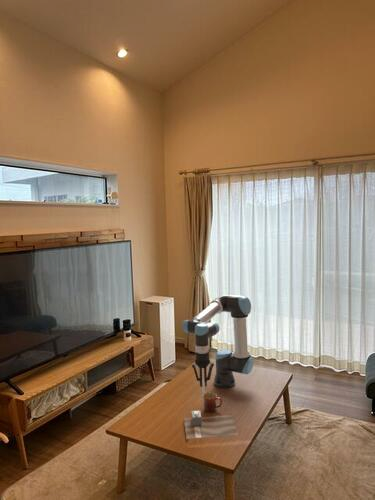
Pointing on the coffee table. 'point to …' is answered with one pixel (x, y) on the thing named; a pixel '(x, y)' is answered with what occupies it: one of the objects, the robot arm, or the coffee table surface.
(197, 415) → the block
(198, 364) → the robot arm
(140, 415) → the coffee table surface
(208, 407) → the mug
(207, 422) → the board
